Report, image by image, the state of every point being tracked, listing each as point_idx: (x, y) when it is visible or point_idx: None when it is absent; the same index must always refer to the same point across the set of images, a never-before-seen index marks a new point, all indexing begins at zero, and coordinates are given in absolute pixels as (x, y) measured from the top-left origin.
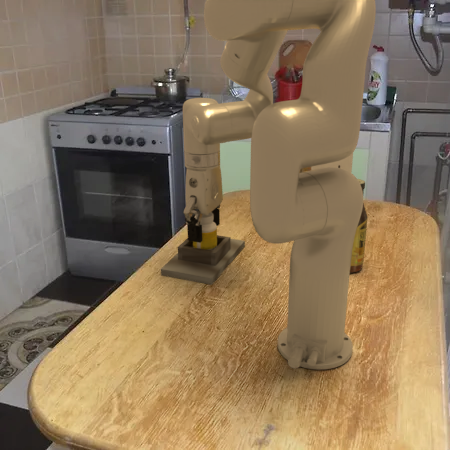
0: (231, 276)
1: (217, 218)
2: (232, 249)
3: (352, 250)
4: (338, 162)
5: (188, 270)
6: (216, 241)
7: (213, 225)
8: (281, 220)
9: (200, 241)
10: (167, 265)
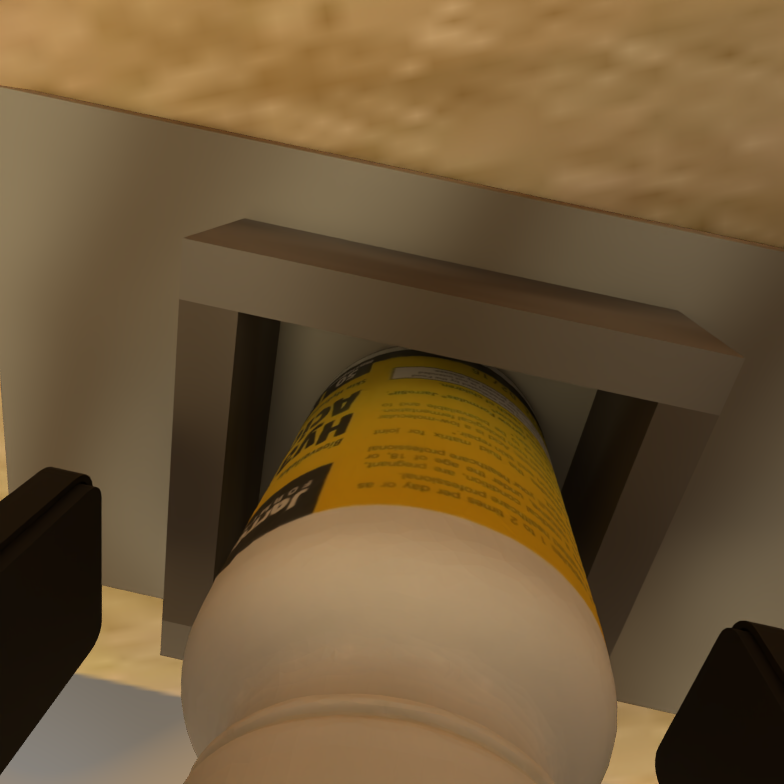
0: (754, 109)
1: (14, 569)
2: (248, 193)
3: None
4: None
5: (774, 536)
6: (427, 403)
7: (446, 611)
8: None
9: (780, 643)
10: (670, 693)
